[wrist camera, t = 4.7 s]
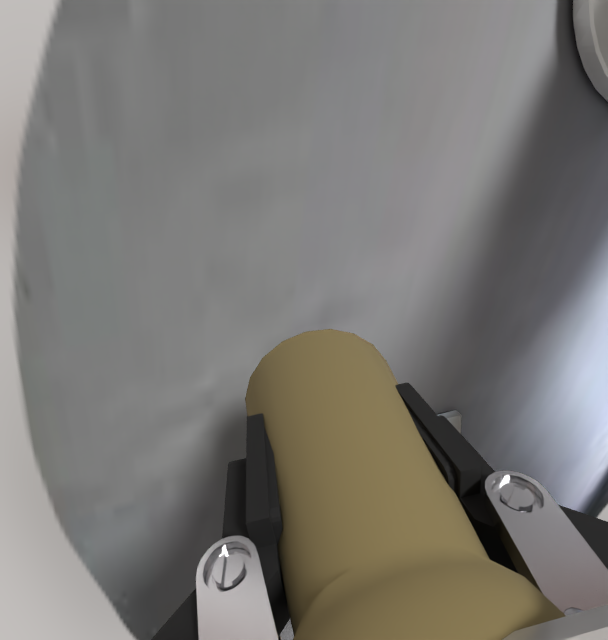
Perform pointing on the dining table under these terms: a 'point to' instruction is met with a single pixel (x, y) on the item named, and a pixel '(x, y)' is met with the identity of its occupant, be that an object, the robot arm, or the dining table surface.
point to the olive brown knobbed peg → (372, 508)
